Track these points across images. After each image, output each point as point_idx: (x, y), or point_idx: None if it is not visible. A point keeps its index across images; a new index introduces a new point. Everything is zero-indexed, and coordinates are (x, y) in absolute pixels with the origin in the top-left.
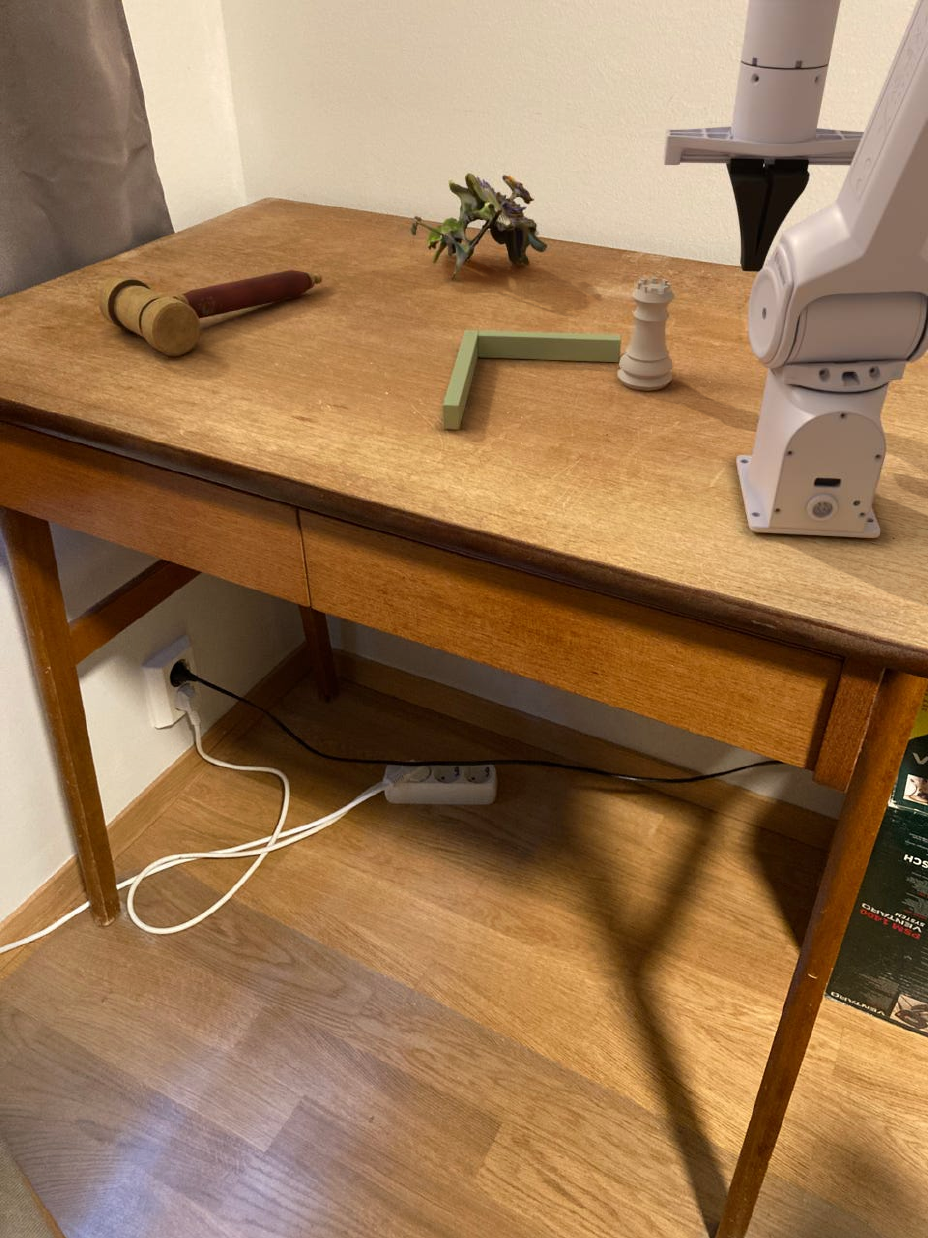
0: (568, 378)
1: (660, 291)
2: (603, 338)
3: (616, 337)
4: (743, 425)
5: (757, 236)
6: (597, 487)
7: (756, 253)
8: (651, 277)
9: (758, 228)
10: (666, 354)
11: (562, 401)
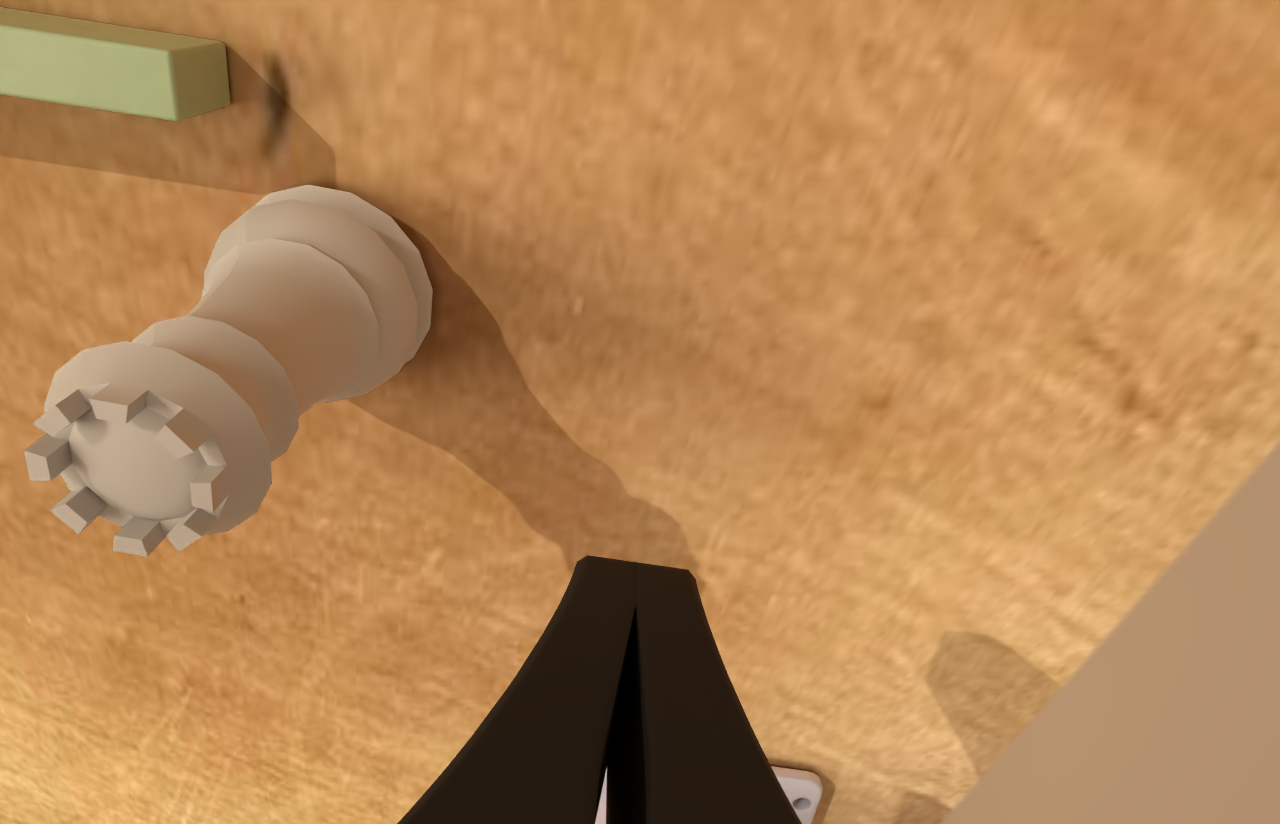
0: (58, 240)
1: (176, 516)
2: (95, 97)
3: (153, 90)
4: None
5: (623, 786)
6: (244, 782)
7: (606, 797)
8: (90, 400)
9: (629, 804)
10: (366, 369)
11: None
